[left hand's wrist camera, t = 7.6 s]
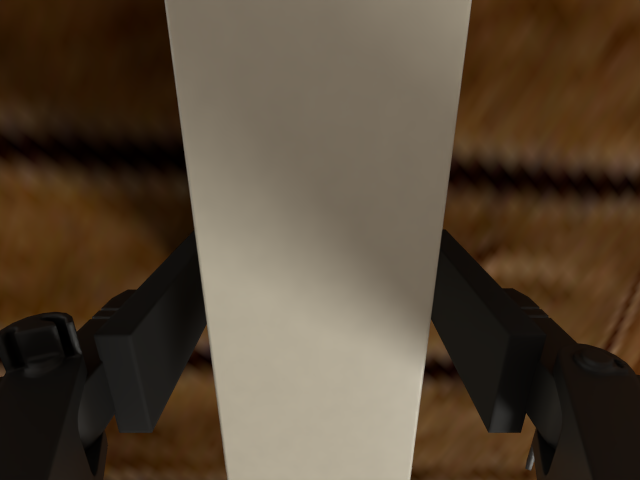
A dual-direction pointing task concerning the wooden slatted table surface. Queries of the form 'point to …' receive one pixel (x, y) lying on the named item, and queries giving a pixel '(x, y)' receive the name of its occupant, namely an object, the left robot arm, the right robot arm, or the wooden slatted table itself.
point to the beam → (318, 219)
